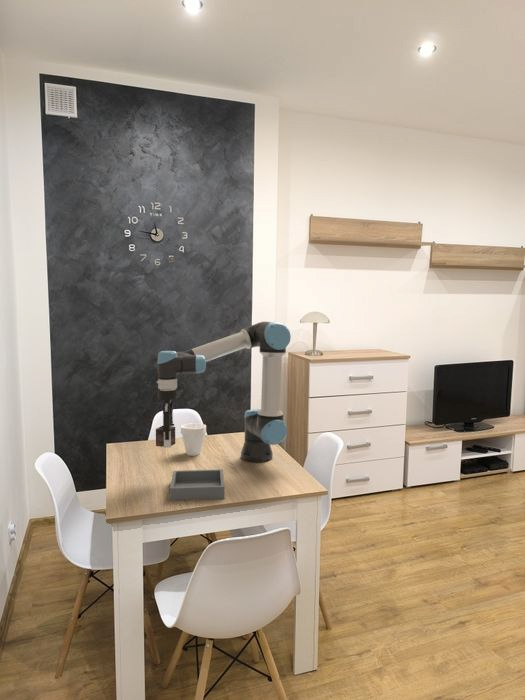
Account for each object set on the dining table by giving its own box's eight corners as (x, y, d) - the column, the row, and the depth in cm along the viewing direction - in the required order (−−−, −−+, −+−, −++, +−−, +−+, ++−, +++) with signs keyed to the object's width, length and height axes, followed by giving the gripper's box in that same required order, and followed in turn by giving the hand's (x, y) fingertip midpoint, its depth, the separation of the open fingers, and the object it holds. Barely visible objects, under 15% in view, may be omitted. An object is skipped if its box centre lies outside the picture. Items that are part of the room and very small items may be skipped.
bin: (222, 480, 203) (222, 469, 202) (224, 498, 183) (224, 486, 183) (173, 481, 201) (173, 470, 200) (169, 500, 181) (169, 488, 180)
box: (175, 444, 204) (175, 426, 203) (168, 447, 198) (168, 430, 197) (162, 442, 205) (162, 425, 205) (155, 446, 200) (155, 428, 199)
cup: (211, 452, 242) (211, 425, 241) (195, 458, 232) (195, 430, 230) (192, 448, 248) (192, 422, 247) (175, 454, 238) (175, 426, 237)
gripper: (161, 385, 209) (161, 438, 211) (155, 393, 189) (156, 451, 191) (178, 385, 210) (179, 438, 212) (174, 393, 190) (175, 451, 192)
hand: (168, 444), depth 201 cm, fingers closed on box, 7 cm apart
